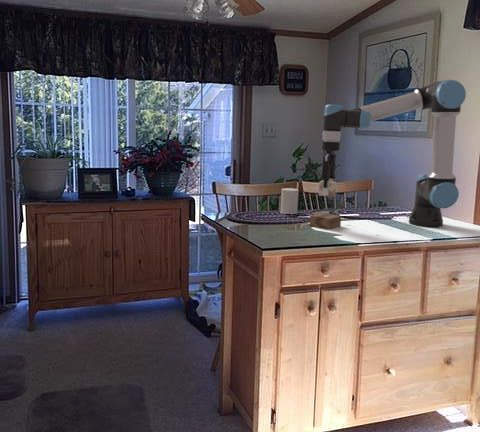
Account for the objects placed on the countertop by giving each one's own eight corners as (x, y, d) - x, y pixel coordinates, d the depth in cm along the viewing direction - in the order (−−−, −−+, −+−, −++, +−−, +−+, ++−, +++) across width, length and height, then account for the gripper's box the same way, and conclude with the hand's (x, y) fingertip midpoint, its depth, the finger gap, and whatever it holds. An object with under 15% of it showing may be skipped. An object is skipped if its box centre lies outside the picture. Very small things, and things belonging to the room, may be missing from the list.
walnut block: (340, 226, 238) (341, 215, 237) (329, 230, 230) (330, 219, 229) (320, 223, 244) (321, 212, 243) (309, 226, 236) (310, 215, 235)
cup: (277, 212, 266) (279, 188, 263) (293, 211, 268) (294, 188, 266) (284, 215, 258) (285, 190, 256) (299, 215, 260) (301, 190, 258)
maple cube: (335, 194, 236) (336, 181, 235) (331, 196, 231) (333, 182, 229) (321, 193, 238) (322, 180, 237) (318, 195, 233) (319, 181, 232)
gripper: (327, 139, 240) (324, 190, 244) (316, 141, 223) (312, 196, 227) (344, 140, 237) (340, 192, 242) (334, 142, 220) (330, 197, 224)
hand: (327, 194), depth 234 cm, fingers closed on maple cube, 6 cm apart
